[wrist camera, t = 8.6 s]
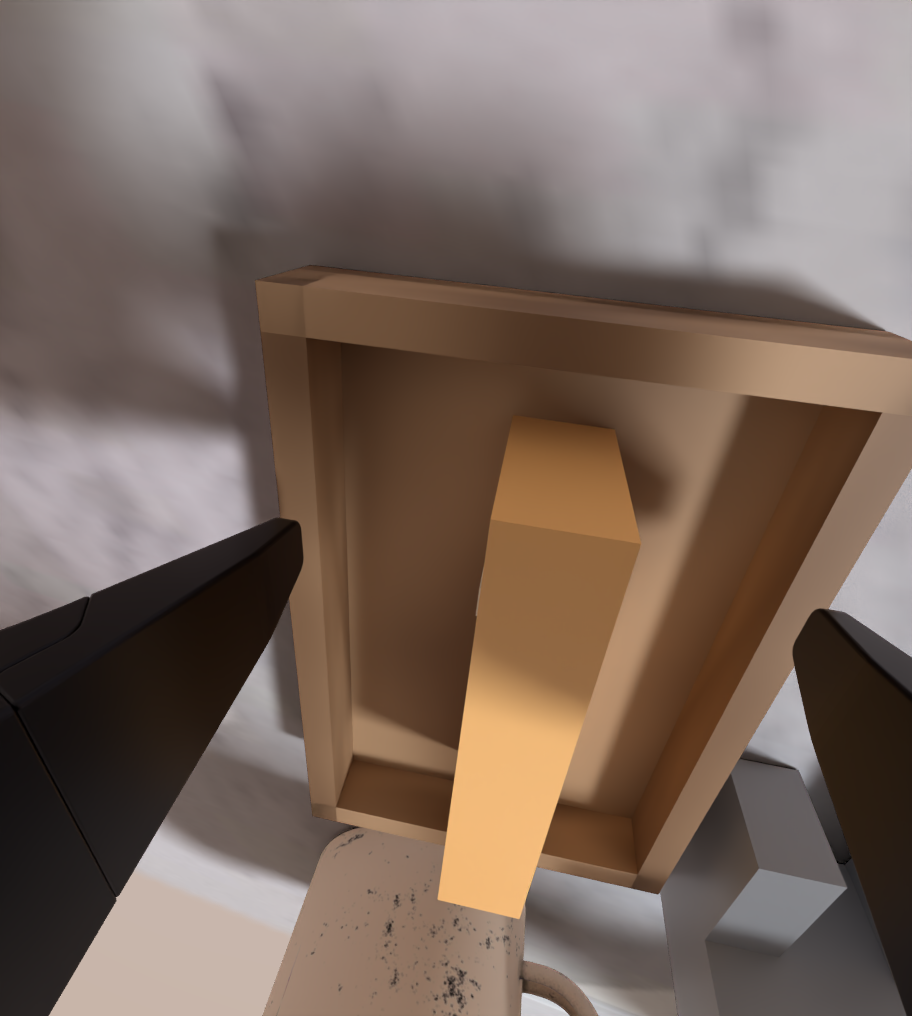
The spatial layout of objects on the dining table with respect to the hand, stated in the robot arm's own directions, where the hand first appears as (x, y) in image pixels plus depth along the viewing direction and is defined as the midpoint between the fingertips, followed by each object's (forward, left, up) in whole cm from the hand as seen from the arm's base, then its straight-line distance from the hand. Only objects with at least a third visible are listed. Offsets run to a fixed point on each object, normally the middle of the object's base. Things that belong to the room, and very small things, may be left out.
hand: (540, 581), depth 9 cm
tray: (0, +3, -3) cm, 5 cm away
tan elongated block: (0, +3, -2) cm, 4 cm away
